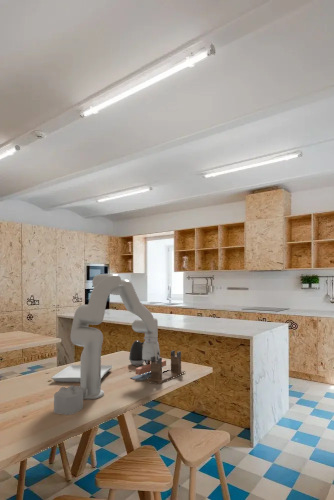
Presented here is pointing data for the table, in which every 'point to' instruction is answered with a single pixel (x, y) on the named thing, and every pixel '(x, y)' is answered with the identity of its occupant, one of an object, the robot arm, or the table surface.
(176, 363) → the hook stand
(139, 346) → the pump dispenser
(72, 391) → the lumpy-topped squat cylinder
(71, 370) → the square plate
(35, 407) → the table surface
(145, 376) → the mat
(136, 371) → the rail
